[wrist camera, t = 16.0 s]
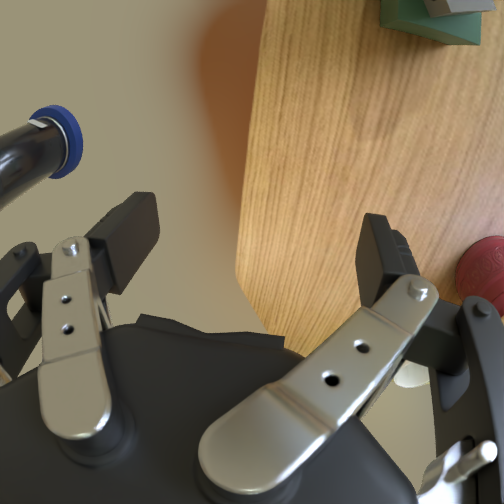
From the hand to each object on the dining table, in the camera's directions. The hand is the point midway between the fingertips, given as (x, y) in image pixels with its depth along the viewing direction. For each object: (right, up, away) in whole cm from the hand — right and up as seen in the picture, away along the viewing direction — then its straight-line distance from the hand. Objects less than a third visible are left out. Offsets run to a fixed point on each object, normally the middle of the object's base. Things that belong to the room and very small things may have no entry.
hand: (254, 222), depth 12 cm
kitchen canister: (+38, -4, +30) cm, 48 cm away
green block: (+19, +27, +12) cm, 35 cm away
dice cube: (+17, +23, +6) cm, 29 cm away
